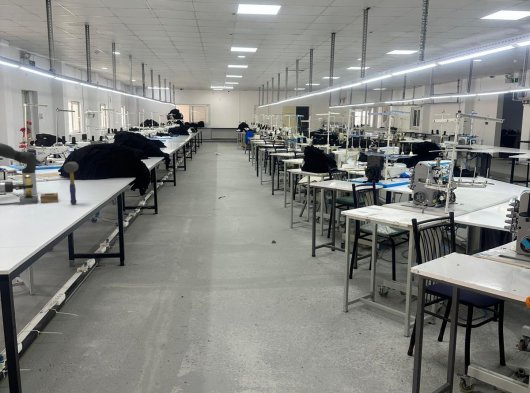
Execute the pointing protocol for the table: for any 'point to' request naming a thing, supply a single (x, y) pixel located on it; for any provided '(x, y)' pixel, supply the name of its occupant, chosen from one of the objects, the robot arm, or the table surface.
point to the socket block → (29, 200)
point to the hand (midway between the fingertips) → (32, 186)
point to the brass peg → (28, 182)
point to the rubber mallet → (71, 179)
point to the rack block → (49, 198)
